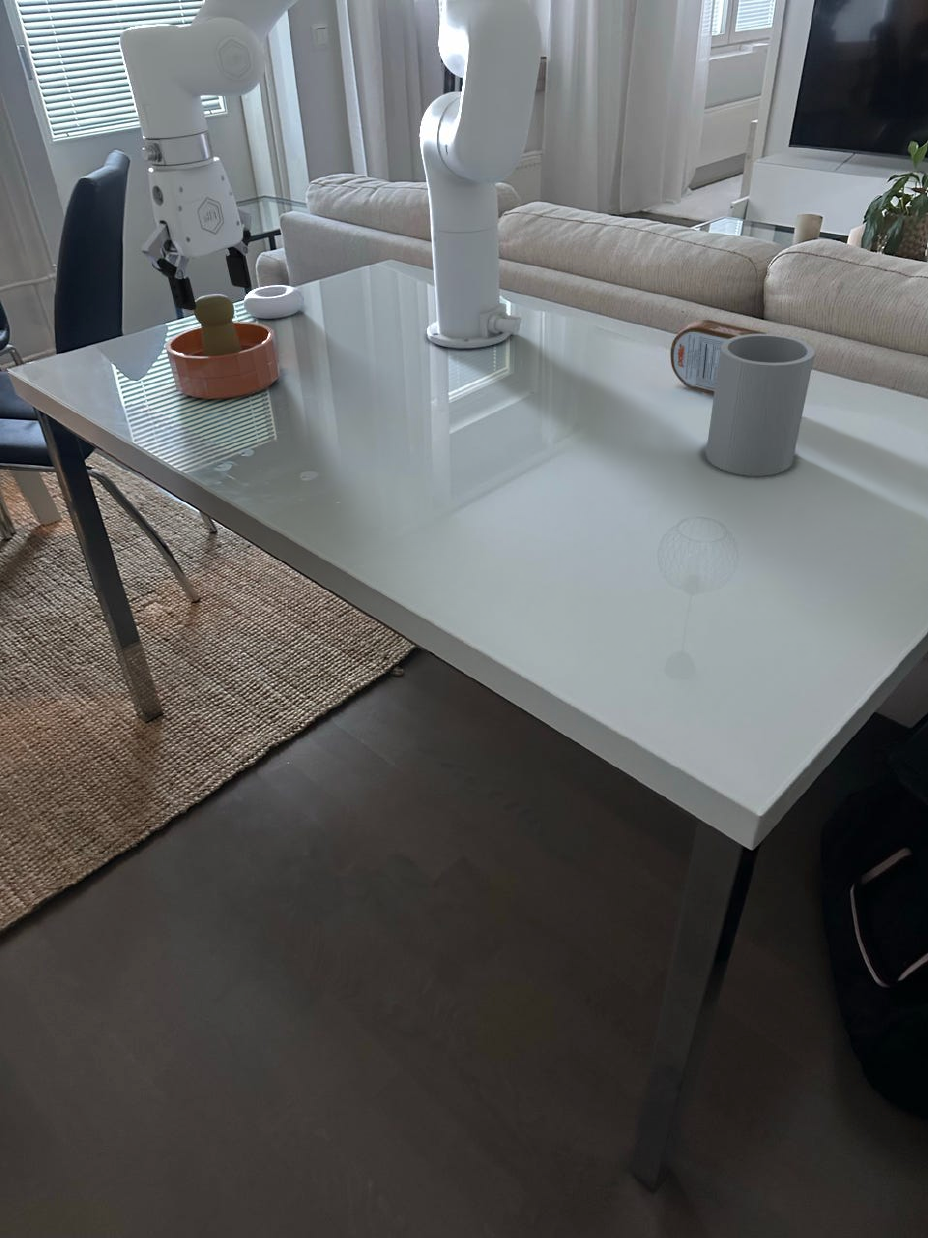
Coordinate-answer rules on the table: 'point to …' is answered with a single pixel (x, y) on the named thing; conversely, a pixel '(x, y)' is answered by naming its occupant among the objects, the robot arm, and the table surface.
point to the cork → (217, 325)
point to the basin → (224, 363)
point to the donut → (273, 302)
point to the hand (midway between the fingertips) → (215, 297)
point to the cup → (758, 403)
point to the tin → (701, 352)
